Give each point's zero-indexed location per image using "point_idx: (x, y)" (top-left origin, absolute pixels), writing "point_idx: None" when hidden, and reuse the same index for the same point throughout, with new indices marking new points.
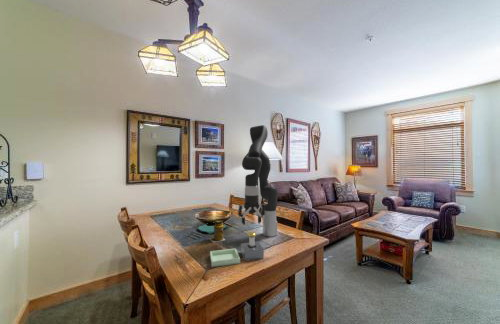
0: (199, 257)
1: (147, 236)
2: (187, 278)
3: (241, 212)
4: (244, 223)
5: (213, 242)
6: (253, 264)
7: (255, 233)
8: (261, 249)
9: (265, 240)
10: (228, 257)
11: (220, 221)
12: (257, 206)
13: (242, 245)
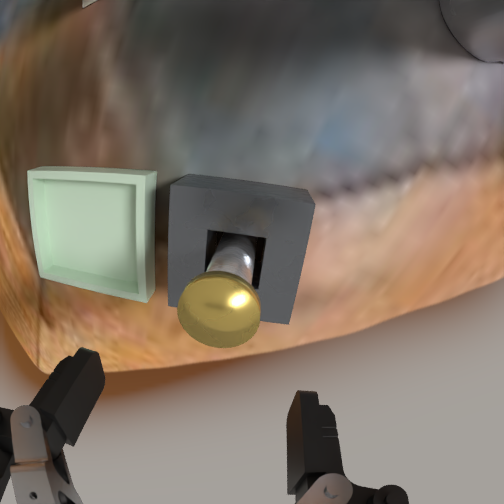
0: (12, 169)
1: None
2: (10, 296)
3: (7, 482)
4: (96, 392)
5: (83, 5)
6: None
7: (250, 332)
8: (274, 321)
9: (423, 76)
10: (107, 226)
11: None
12: None
13: (171, 223)
